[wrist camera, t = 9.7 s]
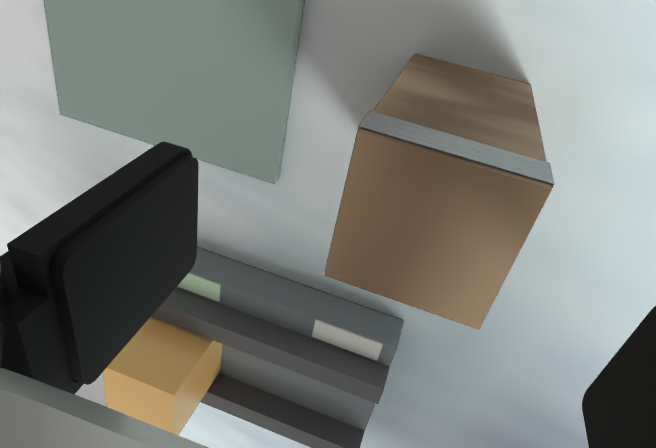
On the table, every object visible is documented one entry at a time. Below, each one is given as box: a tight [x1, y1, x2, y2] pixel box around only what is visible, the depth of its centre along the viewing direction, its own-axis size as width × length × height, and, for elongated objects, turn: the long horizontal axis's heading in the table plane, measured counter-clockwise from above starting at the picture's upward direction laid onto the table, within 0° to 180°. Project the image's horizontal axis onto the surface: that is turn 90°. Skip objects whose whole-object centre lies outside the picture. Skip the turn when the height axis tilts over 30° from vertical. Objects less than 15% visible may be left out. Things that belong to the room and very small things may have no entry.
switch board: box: [152, 247, 404, 448], centre depth 28 cm, size 14×10×4 cm
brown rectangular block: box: [324, 54, 554, 330], centre depth 16 cm, size 5×5×9 cm
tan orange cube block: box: [102, 316, 222, 435], centre depth 26 cm, size 4×4×5 cm
